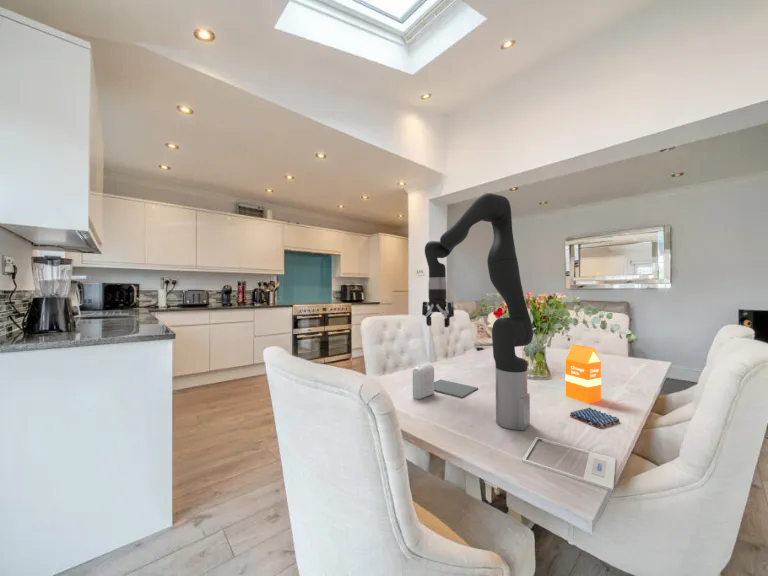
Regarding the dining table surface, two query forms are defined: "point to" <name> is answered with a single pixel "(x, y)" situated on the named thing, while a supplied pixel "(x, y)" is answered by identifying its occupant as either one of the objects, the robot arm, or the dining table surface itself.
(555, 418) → the dining table surface
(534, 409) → the dining table surface
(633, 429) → the dining table surface
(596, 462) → the photo frame
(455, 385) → the charcoal mat
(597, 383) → the orange juice
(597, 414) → the woven mat
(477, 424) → the dining table surface
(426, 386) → the photo printer
